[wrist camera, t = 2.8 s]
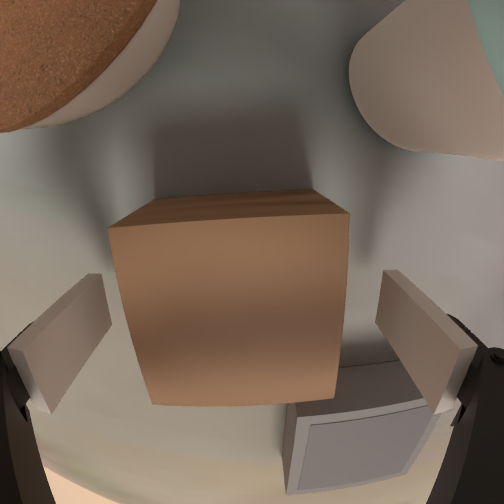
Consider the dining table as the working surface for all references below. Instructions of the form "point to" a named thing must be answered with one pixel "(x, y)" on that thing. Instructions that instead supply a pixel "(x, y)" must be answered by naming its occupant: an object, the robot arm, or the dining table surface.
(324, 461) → the tower base
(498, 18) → the can
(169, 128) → the dining table surface
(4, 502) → the robot arm
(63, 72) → the lidded jar
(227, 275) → the walnut brick
